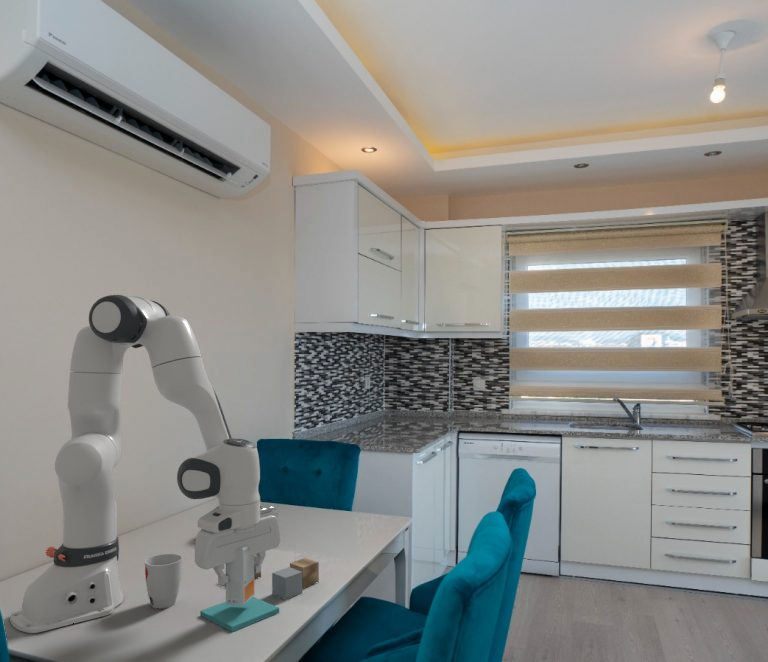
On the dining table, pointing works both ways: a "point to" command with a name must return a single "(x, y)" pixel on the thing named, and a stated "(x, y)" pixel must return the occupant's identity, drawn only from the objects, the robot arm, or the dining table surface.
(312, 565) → the light brown wooden cube
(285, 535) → the dining table surface
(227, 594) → the skincare box
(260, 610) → the teal mat
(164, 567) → the cup
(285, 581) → the slate grey block
